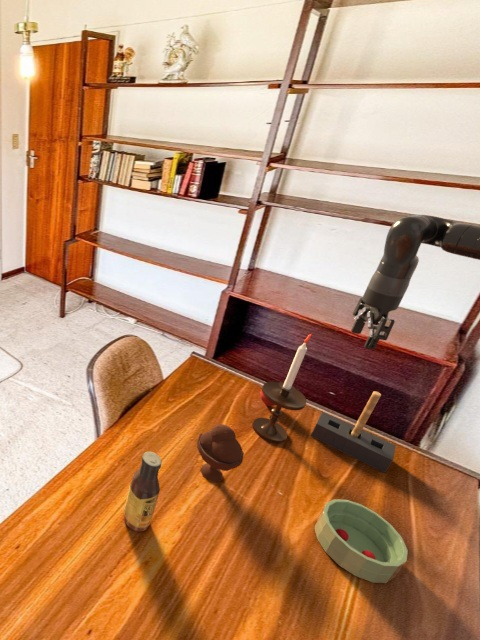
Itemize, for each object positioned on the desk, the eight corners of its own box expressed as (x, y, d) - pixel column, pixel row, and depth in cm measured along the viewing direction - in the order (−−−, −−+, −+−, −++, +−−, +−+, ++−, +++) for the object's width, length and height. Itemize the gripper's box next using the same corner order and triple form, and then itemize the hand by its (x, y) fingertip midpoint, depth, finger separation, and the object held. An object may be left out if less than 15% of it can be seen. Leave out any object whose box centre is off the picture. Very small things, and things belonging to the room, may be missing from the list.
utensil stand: (388, 457, 111) (396, 445, 109) (384, 473, 107) (392, 460, 105) (316, 423, 123) (322, 411, 120) (310, 436, 118) (316, 423, 116)
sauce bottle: (141, 539, 88) (157, 478, 80) (117, 519, 92) (130, 460, 84) (155, 519, 93) (172, 459, 84) (131, 501, 97) (145, 443, 88)
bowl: (397, 549, 88) (410, 531, 86) (389, 601, 79) (404, 582, 76) (321, 505, 98) (331, 487, 95) (307, 546, 88) (317, 528, 85)
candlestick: (280, 420, 123) (320, 324, 108) (296, 447, 113) (343, 347, 98) (243, 415, 124) (278, 320, 109) (256, 442, 115) (296, 342, 100)
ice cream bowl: (180, 462, 107) (193, 421, 101) (212, 452, 111) (226, 411, 105) (210, 496, 98) (225, 454, 92) (243, 483, 102) (260, 442, 96)
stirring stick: (352, 446, 115) (381, 393, 106) (351, 450, 114) (380, 396, 105) (345, 443, 116) (373, 390, 107) (344, 446, 115) (372, 393, 106)
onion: (272, 399, 132) (279, 380, 128) (280, 412, 126) (288, 392, 123) (254, 397, 132) (261, 379, 129) (261, 410, 127) (269, 390, 123)
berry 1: (347, 538, 90) (351, 532, 89) (345, 546, 88) (349, 539, 87) (334, 530, 91) (338, 524, 90) (332, 538, 90) (336, 531, 89)
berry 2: (373, 560, 86) (378, 553, 84) (372, 568, 84) (377, 562, 83) (360, 552, 87) (364, 545, 86) (358, 560, 86) (362, 553, 84)
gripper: (418, 303, 97) (390, 357, 104) (389, 280, 110) (366, 330, 117) (382, 298, 99) (357, 351, 106) (357, 276, 112) (336, 325, 119)
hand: (361, 340), depth 111 cm, fingers open, 8 cm apart
